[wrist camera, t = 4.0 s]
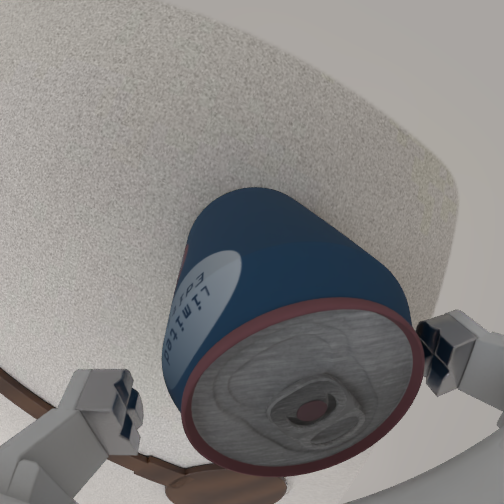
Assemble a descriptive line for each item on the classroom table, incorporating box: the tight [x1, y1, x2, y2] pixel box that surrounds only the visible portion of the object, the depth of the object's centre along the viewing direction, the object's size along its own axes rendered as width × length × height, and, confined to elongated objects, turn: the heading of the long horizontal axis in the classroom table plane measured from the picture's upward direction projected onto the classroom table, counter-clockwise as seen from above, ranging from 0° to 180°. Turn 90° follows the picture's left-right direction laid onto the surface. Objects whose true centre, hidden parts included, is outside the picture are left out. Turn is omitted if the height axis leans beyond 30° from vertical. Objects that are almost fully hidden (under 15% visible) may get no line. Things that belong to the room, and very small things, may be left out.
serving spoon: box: [0, 368, 287, 504], centre depth 23 cm, size 33×13×1 cm, turn 50°
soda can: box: [162, 187, 425, 477], centre depth 12 cm, size 7×7×12 cm
